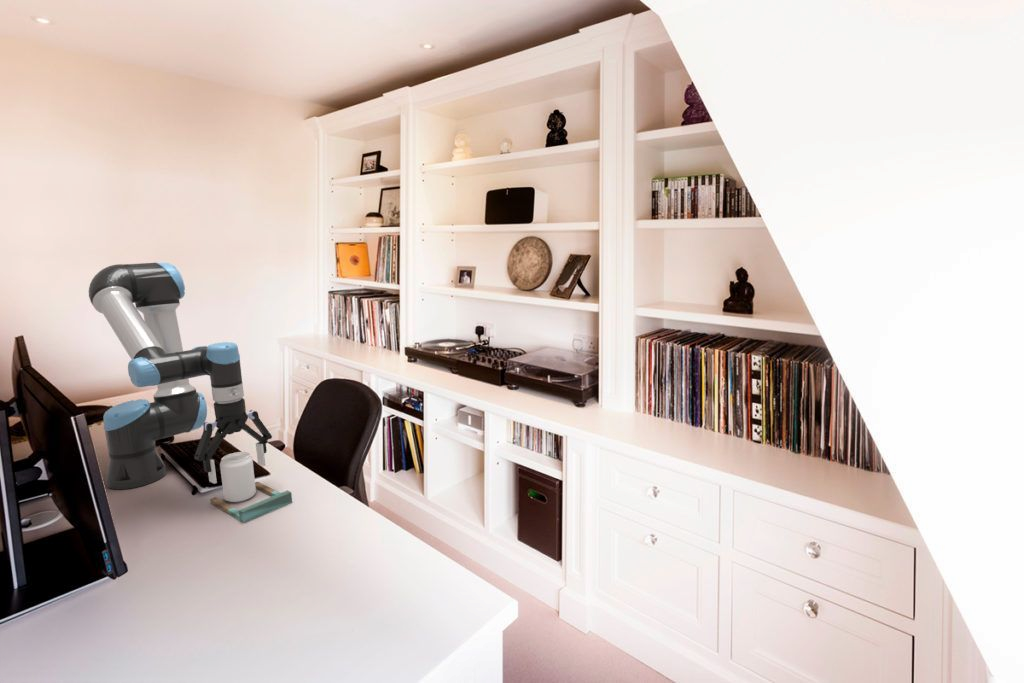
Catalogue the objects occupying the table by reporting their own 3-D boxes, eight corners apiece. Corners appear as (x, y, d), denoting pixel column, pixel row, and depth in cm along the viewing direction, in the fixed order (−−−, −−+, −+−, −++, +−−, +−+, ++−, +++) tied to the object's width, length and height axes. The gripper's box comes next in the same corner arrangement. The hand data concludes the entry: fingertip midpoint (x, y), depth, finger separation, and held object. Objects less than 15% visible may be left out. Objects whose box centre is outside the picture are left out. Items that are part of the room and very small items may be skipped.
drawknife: (210, 503, 150) (209, 493, 149) (258, 485, 160) (257, 475, 160) (243, 523, 139) (242, 512, 138) (292, 502, 150) (291, 492, 149)
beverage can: (243, 505, 148) (238, 463, 146) (217, 502, 150) (212, 461, 148) (262, 491, 156) (258, 452, 154) (237, 489, 158) (233, 450, 156)
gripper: (185, 414, 136) (197, 493, 139) (279, 391, 155) (287, 461, 159) (173, 409, 140) (184, 486, 144) (265, 387, 160) (273, 455, 163)
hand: (238, 473), depth 151 cm, fingers open, 13 cm apart
